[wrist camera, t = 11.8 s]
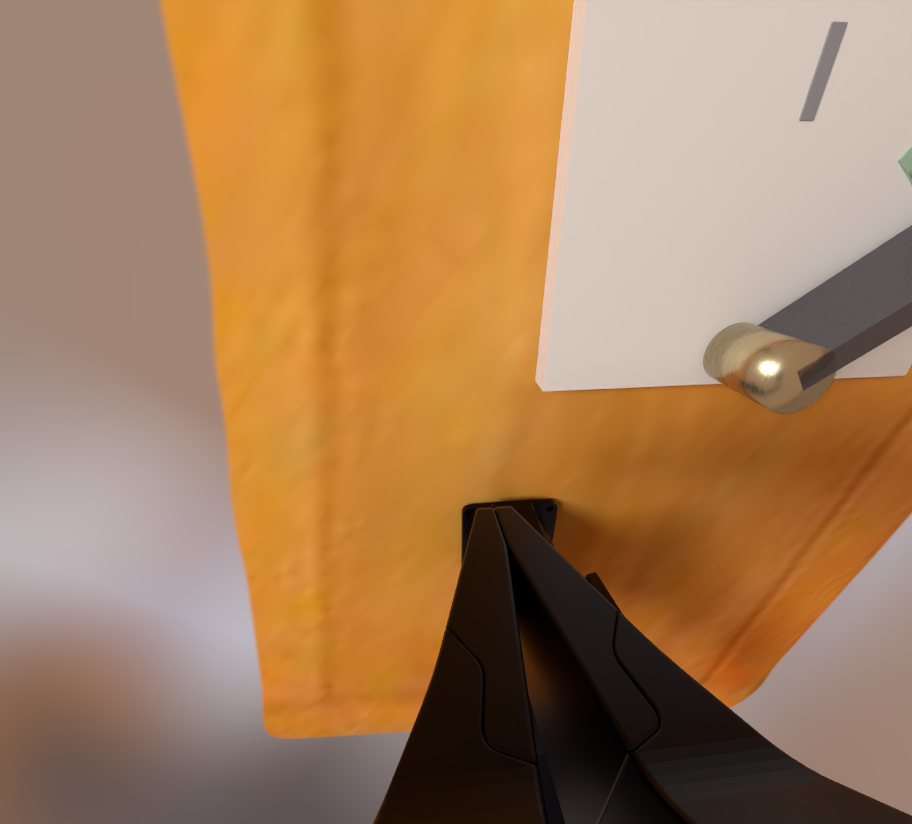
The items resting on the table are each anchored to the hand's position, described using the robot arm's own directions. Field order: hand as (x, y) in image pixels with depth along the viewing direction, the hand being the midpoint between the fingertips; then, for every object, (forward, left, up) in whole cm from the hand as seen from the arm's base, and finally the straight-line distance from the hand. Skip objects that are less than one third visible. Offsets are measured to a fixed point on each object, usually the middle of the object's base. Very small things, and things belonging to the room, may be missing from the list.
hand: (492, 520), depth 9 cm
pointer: (+4, -20, -11) cm, 23 cm away
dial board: (+8, -16, -13) cm, 22 cm away
